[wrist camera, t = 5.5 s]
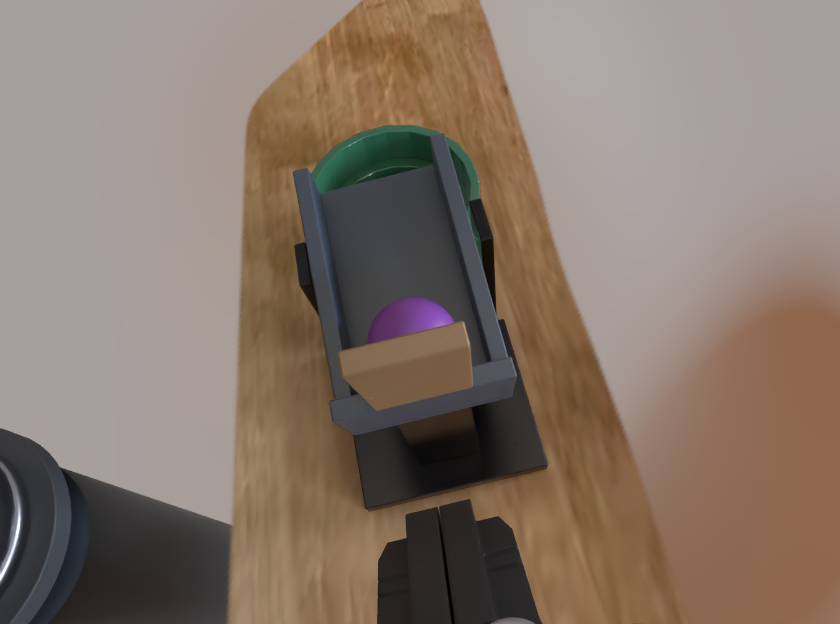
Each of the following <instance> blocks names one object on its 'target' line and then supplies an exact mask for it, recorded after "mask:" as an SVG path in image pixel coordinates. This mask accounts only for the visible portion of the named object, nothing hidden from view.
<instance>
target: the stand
mask: <svg viewBox="0 0 840 624" xmlns="http://www.w3.org/2000/svg"><path fill="white" fill-rule="evenodd" d="M469 208H470V218H471V228H472V231H473V235H474V239H475V242H476V246H477V249H478V253H479V256H480V260H481V263H482V267H483V270H484V274H485V277H486V281H487V284H488V288H489V291H490V295H491V298H492V302H493V305H494V309H495V312H496V291H495V267H494V244H493V235H492V232H491V229H490V226H489V223H488V219H487V216H486V213H485V210H484V207H483V204H482V201H481V199H480V198H479V199H475V200H471V201H469ZM294 248H295V255H296V262H297V269H298V276H299V283H300V287H301V288H302V290H303V292H304V293H305V295H306V296H307V298H308V300H309V301H310V303H311V304H312V306H313V308H314V309H315V311H316V312H317V314H318V316H319V311H318V306H317V300H316V295H315V290H314V284H313V279H312V273H311V268H310V262H309V257H308V252H307V246H306V243H301V244H297V245H295V246H294ZM496 316H497V315H496ZM498 323H499V327H500V330H501V334H502V337H503V341H504V344H505V348H506V351H507V355H508V357H511V358H512V361H513V364H514V368H515V371H516V375H517V377H516V382H515V386H514V390H513V394H512V397H510V398H506V399H502V400H498V401H494V402H489V403H485V404H481V405H477V406H473V407H469V408H465V409H461V410H457V411H453V412H449V413H445V414H441V415H436V416H432V417H428V418H424V419H420V420H416V421H412V422H408V423H404V424H400V425H396V426H392V427H387V428H383V429H379V430H375V431H371V432H367V433H363V434H359V435H353V436H354V442H355V448H356V454H357V460H358V466H359V473H360V479H361V485H362V491H363V497H364V503H365V508H366V510H368V511H374V510H378V509H382V508H386V507H390V506H394V505H398V504H403V503H407V502H411V501H415V500H419V499H423V498H427V497H431V496H436V495H440V494H444V493H448V492H452V491H456V490H460V489H464V488H468V487H473V486H477V485H481V484H485V483H489V482H493V481H497V480H501V479H506V478H510V477H514V476H518V475H522V474H526V473H530V472H534V471H539V470H543V469H547V467H548V462H547V459H546V455H545V452H544V449H543V446H542V442H541V439H540V436H539V433H538V429H537V426H536V423H535V419H534V416H533V413H532V410H531V406H530V403H529V400H528V397H527V393H526V390H525V387H524V384H523V380H522V377H521V374H520V370H519V367H518V364H517V361H516V357H515V354H514V351H513V348H512V344H511V341H510V338H509V335H508V331H507V328H506V325H505V322H504V319H501V320H498Z"/></svg>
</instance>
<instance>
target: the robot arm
mask: <svg viewBox="0 0 840 624" xmlns="http://www.w3.org/2000/svg"><path fill="white" fill-rule="evenodd" d="M439 509H440V514H439V511H438V508H437V507H435V508H431V509H427V510H422V511H418V512H414V513H410V514H406V535H407V538H406V539H402V540H397V541H393V542H389V543H387V545H386V547H385V549H384V551H383V553H382V555H381V557H380V559H379V561H378V582H379V583H378V614H377V624H542V622H541V621H540V618H539V616H538V612H537V609H536V606H535V602H534V599H533V596H532V593H531V589H530V586H529V583H528V580H527V576H526V573H525V570H524V566H523V564H522V560H521V557H520V553H519V550H518V547H517V543H516V540H515V537H514V534H513V530H512V528H510V527H509V526H508V525H507V524H506V523H505V522H504V521H503V520H502V519H501V518H500V517H499V516H497V517H493V518H489V519H485V520H481V521H476V520H475V516H474V512H473V508H472V504H471V500H470V499H468V500H464V501H460V502H455V503H451V504H447V505H443V506H439ZM440 517H441V518H440ZM29 525H30V506H29V499H28V495H27V491H26V488H25V485H24V483H23V481H22V479H21V477H20V475H19V474H18V473H17V471H16V470H15V469H14V468H13V467H12V465H11V464H9V463H8V462H7V461H6V460H4V459H3V458H1V457H0V597H1V596H2V594H3V593H4V591H5V590H6V588H7V587H8V585H9V583H10V582H11V580H12V578H13V576H14V574H15V572H16V570H17V568H18V566H19V564H20V561H21V558H22V556H23V553H24V550H25V546H26V542H27V538H28V532H29Z"/></svg>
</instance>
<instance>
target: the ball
mask: <svg viewBox="0 0 840 624" xmlns="http://www.w3.org/2000/svg"><path fill="white" fill-rule="evenodd" d="M451 323H454V321H453V319H452V317H451V316H450V315H449V313H448V312H447V311H446V310H445V309H444V308H442V307H441V306H440V305H438V304H437V303H435V302H433V301H430V300H428V299H424V298H418V297H408V298H403V299H399V300H396V301H394V302H392V303H390V304H389V305H387V306H386V307H384V308H383V309H382V310H381V311H380V312H379V313H378V314H377V316H376V317H375V319H374V320H373V322H372V324H371V327H370V329H369V333H368V341H367V344H371V343H375V342H379V341H383V340H387V339H391V338H395V337H399V336H403V335H407V334H411V333H415V332H419V331H423V330H427V329H431V328H435V327H439V326H443V325H447V324H451Z"/></svg>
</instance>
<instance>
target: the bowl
mask: <svg viewBox="0 0 840 624" xmlns="http://www.w3.org/2000/svg"><path fill="white" fill-rule="evenodd" d="M439 134H441V133H439V132H437V131H435V130H431V129H427V128H422V127H418V126H414V125H412V126H411V125H386V126H382V127H378V128H374V129H371V130H367V131H363V132H360V133H358V134H356V135H354V136H352V137H350V138H349V139H347V140H345V141H343V142H341V143H339V144H338V145H336V146H335V147H334V148H333V149H332V150H331V151H330V152H329V153H328V154H326V155H325V156H324V157H323V158H322V159H321V160H320V161H319V162H318V163H317V165H316V167H315V169H314V170H313V172H312V174H311V176H312V178H313V180H314V182H315V184H316V186H317V188H318V190H319V192H320V193H324V192H328V191H332V190H336V189H340V188H344V187H348V186H352V185H356V184H360V183H363V182H367V181H371V180H375V179H379V178H383V177H387V176H391V175H395V174H399V173H403V172H407V171H411V170H415V169H419V168H423V167H427V166H431V165H433V158H432V151H431V144H430V137H431V136H435V135H439ZM446 140H447V143H448V147H449V150H450V154H451V158H452V161H453V165H454V168H455V172H456V175H457V179H458V182H459V186H460V189H461V193H462V196H463V200H464V203H465V207H466V210H467V214H468V217H469V221H470V224H471V218H470V208H469V201H471V200H475V199H479V198H480V199H481V191H480V181H479V178H478V175H477V172H476V169H475V166H474V164H473V161H472V159H471V158H470V157H469V156H468V155H467V154H466V152H465V151H464V150H463V149H462V148H461V147H460V146H459V144H458V143H456V142H455V141H453V140H451V139H450V138H448V137H446Z"/></svg>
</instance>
